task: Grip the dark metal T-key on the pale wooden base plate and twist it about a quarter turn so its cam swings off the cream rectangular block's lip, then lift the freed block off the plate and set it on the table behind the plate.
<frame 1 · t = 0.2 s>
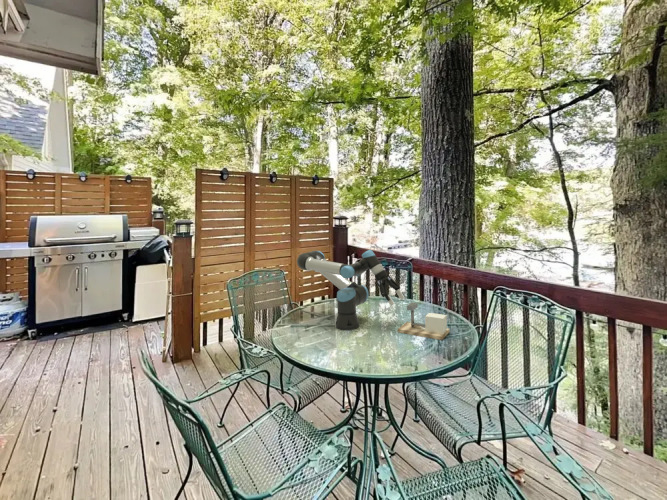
hand: (398, 301, 206), 16 cm above the table, tool tilted 35°, fingers open, 13 cm apart
base plate: (423, 332, 197), on the table
cream rectangular block: (436, 330, 192), point 2 cm above the table, touching base plate
t key: (417, 316, 198), point 9 cm above the table, hinge at 0.0°
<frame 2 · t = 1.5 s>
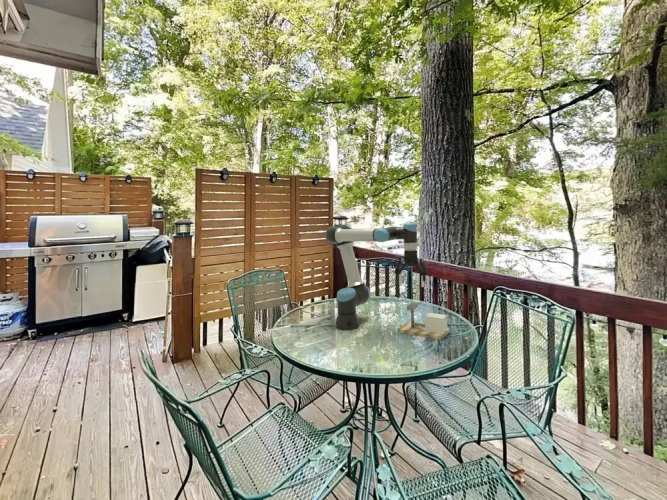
hand: (411, 285, 197), 27 cm above the table, tool pointing down, fingers open, 13 cm apart
nothing on the table moved.
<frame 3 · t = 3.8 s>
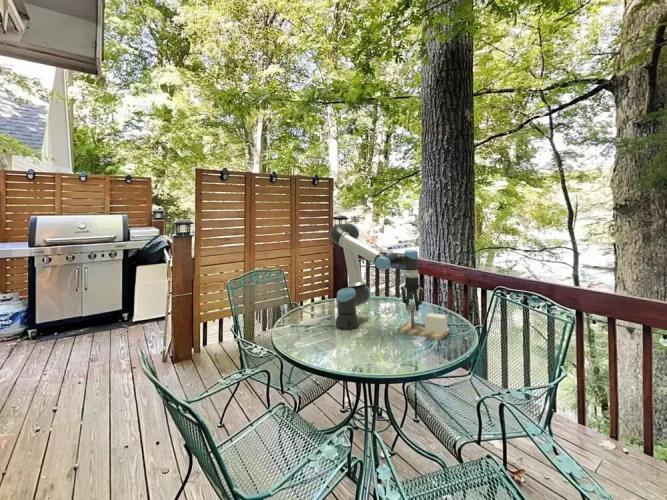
hand: (412, 315, 199), 9 cm above the table, tool pointing down, fingers closed on t key, 3 cm apart
t key: (417, 316, 198), point 9 cm above the table, hinge at 0.0°, touching gripper
everything else where it was.
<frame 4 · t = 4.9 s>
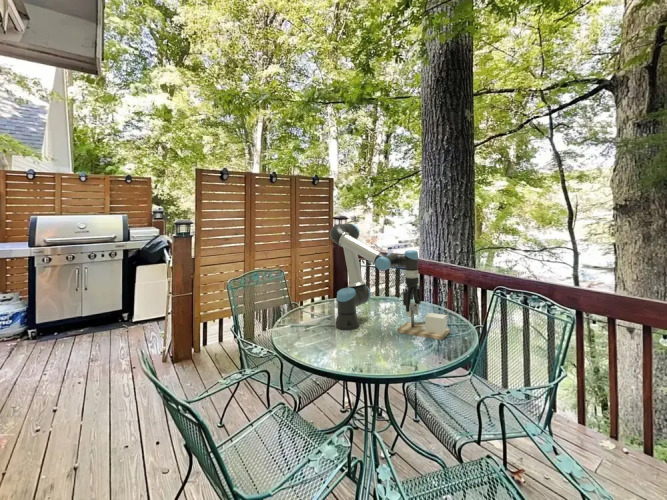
hand: (412, 315, 199), 9 cm above the table, tool pointing down, fingers closed on t key, 6 cm apart
t key: (417, 315, 199), point 9 cm above the table, hinge at 37.1°, touching gripper
everything else where it was.
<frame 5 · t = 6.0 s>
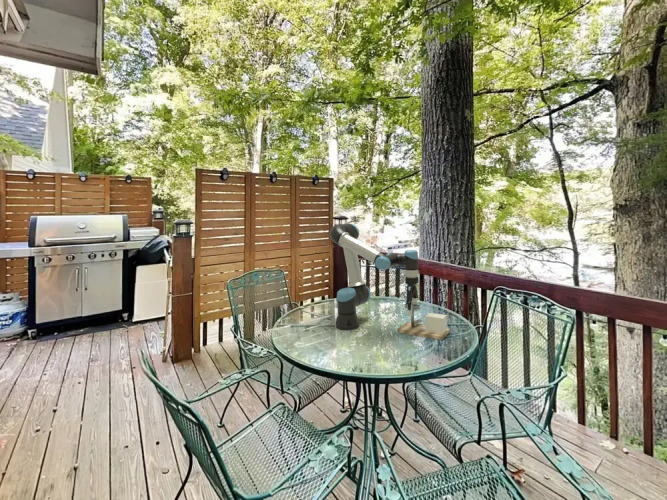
hand: (412, 312, 199), 11 cm above the table, tool pointing down, fingers open, 13 cm apart
t key: (415, 314, 201), point 9 cm above the table, hinge at 74.9°
everything else where it was.
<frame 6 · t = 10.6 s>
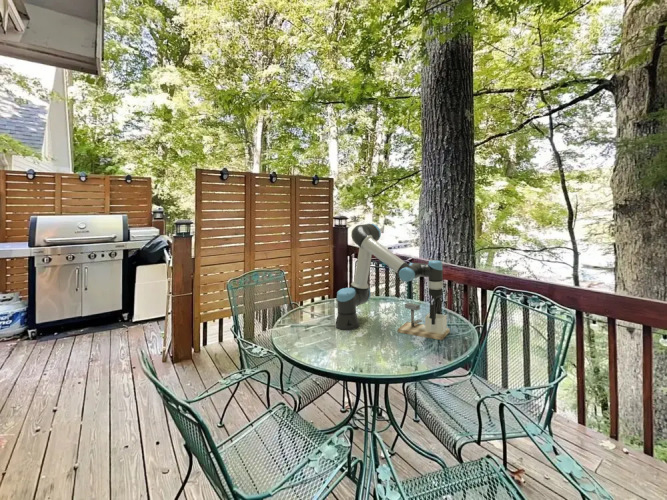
hand: (436, 327, 192), 4 cm above the table, tool pointing down, fingers closed on cream rectangular block, 7 cm apart
cream rectangular block: (436, 330, 192), point 2 cm above the table, touching base plate, gripper
everything else where it was.
when the fingers open (4 cm above the table, at t = 16.5 s): cream rectangular block drops 2 cm, on the table.
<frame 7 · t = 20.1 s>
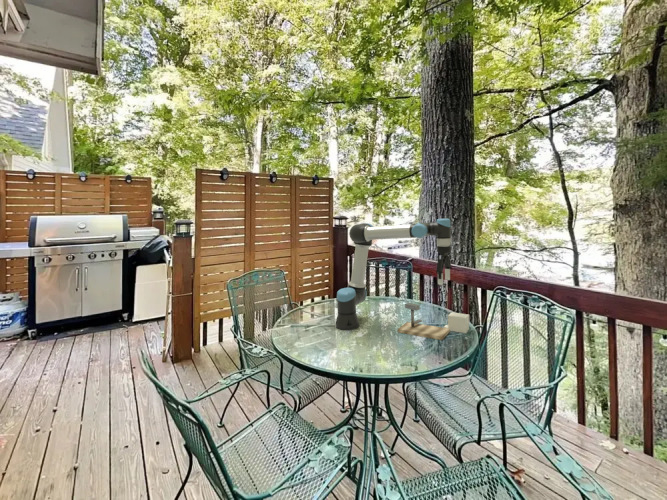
hand: (444, 282, 195), 29 cm above the table, tool pointing down, fingers open, 13 cm apart
cream rectangular block: (458, 329, 198), on the table
everything else where it was.
at the end: t key at +75° (first picture: +0°); cream rectangular block inside the target area (0.0 cm from its centre), on the table; cream rectangular block tilted 0° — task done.
